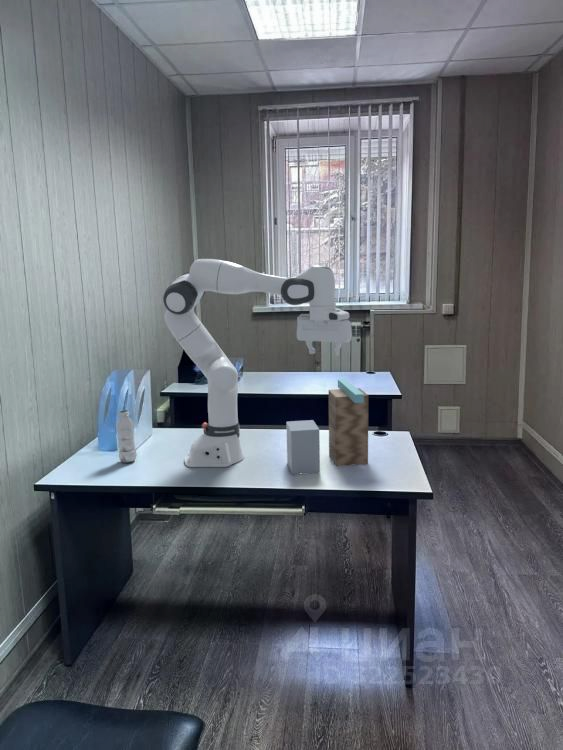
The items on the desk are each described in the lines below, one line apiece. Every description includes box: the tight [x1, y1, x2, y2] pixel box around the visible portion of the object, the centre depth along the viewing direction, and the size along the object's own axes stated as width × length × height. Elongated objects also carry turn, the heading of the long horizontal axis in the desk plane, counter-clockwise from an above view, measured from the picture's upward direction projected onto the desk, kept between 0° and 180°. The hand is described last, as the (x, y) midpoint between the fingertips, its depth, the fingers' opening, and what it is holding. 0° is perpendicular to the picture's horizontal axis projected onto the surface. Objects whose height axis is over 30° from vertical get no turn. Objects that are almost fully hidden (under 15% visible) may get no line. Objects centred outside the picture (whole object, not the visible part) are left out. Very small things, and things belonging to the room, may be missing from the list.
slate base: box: [285, 419, 321, 475], centre depth 196 cm, size 10×12×16 cm
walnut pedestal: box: [328, 387, 369, 467], centre depth 202 cm, size 12×12×26 cm
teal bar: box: [337, 378, 364, 403], centre depth 197 cm, size 3×26×3 cm, turn 7°
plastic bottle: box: [115, 409, 138, 464], centre depth 207 cm, size 6×7×20 cm
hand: (324, 354), depth 186 cm, fingers open, 8 cm apart
